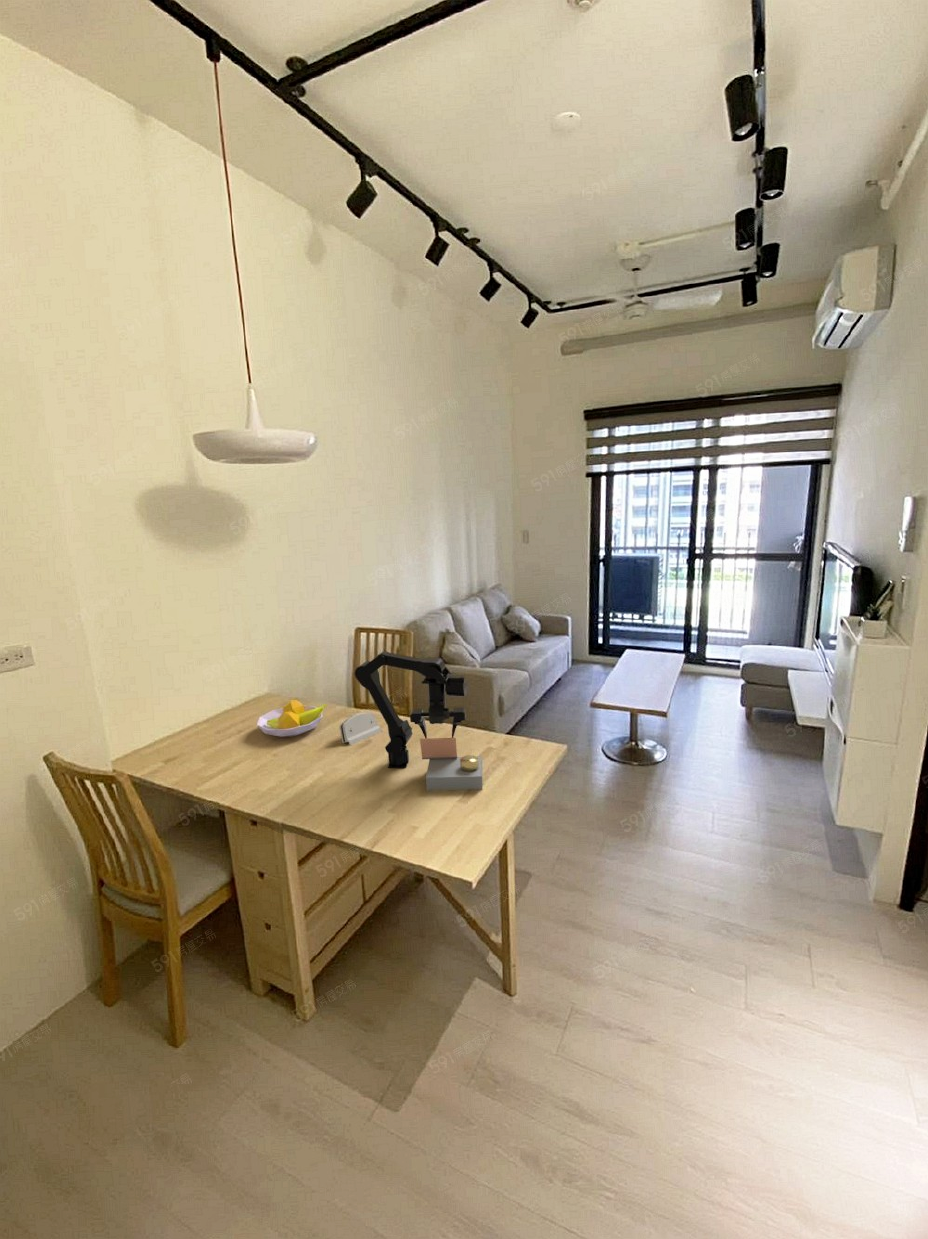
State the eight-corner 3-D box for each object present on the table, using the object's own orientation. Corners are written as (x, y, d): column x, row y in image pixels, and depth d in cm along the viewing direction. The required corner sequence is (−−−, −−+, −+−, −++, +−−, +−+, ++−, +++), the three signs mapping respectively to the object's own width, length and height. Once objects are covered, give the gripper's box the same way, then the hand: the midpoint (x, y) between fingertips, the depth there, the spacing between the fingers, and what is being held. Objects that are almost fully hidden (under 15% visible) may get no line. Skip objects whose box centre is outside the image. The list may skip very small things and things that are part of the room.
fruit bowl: (244, 739, 224) (241, 713, 222) (289, 714, 249) (286, 690, 246) (300, 748, 213) (296, 720, 211) (341, 721, 238) (338, 697, 235)
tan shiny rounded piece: (460, 784, 180) (459, 763, 179) (461, 775, 186) (460, 755, 184) (479, 783, 180) (478, 763, 178) (479, 774, 186) (478, 755, 184)
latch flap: (422, 760, 189) (420, 740, 185) (422, 757, 190) (420, 738, 186) (457, 759, 189) (455, 739, 185) (457, 756, 190) (455, 737, 186)
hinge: (349, 745, 213) (342, 721, 214) (343, 746, 217) (335, 722, 217) (382, 731, 226) (375, 707, 226) (375, 732, 229) (368, 709, 229)
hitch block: (426, 790, 178) (425, 777, 177) (430, 769, 191) (429, 757, 190) (482, 789, 177) (481, 776, 176) (482, 768, 191) (481, 756, 190)
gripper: (406, 704, 180) (409, 749, 183) (463, 702, 179) (465, 747, 183) (410, 693, 191) (413, 735, 194) (464, 691, 190) (466, 733, 194)
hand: (439, 737), depth 191 cm, fingers open, 9 cm apart
